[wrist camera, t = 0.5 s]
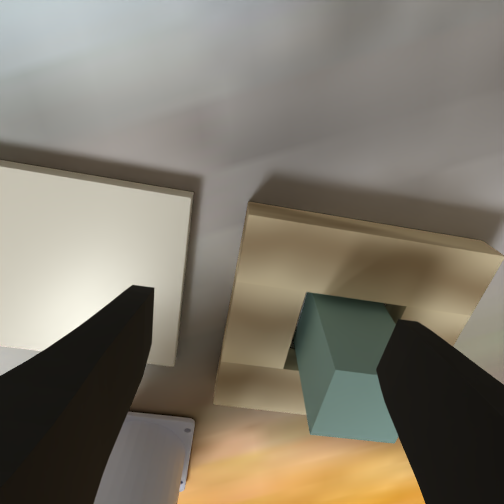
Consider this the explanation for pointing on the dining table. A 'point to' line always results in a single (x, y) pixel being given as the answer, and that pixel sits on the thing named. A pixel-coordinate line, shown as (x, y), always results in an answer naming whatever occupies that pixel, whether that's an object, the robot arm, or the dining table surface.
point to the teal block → (344, 367)
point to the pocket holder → (335, 291)
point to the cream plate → (87, 253)
